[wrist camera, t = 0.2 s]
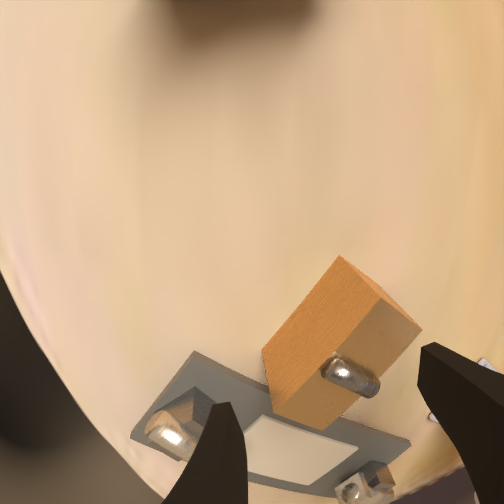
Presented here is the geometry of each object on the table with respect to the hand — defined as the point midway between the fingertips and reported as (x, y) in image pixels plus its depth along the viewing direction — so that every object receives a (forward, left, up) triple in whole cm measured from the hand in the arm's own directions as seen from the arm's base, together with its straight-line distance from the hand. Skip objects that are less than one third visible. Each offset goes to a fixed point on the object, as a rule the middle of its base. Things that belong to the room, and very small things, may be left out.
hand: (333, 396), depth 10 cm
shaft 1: (0, +12, -9) cm, 15 cm away
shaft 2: (-20, +13, -9) cm, 25 cm away
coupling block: (-3, +1, -10) cm, 10 cm away
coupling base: (-10, +13, -10) cm, 19 cm away
